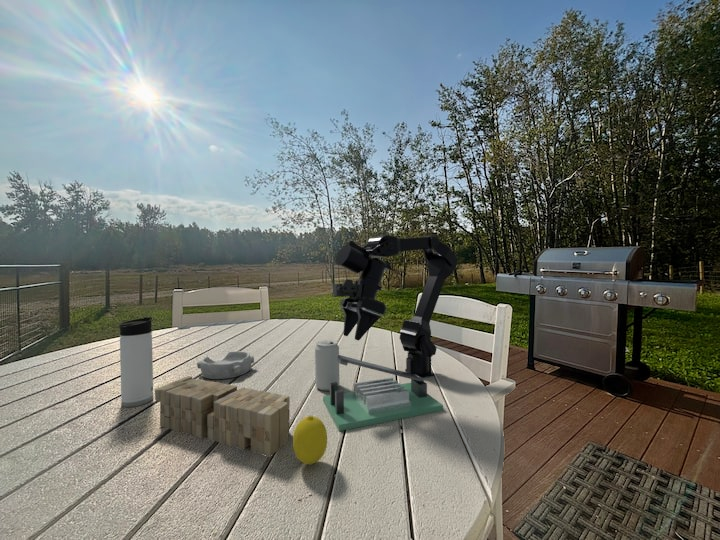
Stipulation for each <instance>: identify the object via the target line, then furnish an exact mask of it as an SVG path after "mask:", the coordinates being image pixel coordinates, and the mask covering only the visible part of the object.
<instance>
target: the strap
mask: <svg viewBox="0 0 720 540" xmlns="http://www.w3.org/2000/svg"><path fill="white" fill-rule="evenodd" d="M337 361H338V362H339V365H343V366H348V364H350V365H354V366H358V367H363V368H365V369H371V370H374V371H377V372H382V373H386V374H390V375H395V376H398V377H402V378H406V379H410V380H411V379H413V380H417V381H420V382H421V383H422V382H425V379H424V378H423V377H420V376H418V375H417V374H415V375H414V374H410V373H407V372H406V371H402V370H398V369H395V368H390V367H386V366H383V365H379V364H375V363H371V362H368V361H364V360H361V359H356V358H353V357H348V356H345V355H341V354H339V355H338V357H337Z"/></svg>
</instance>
